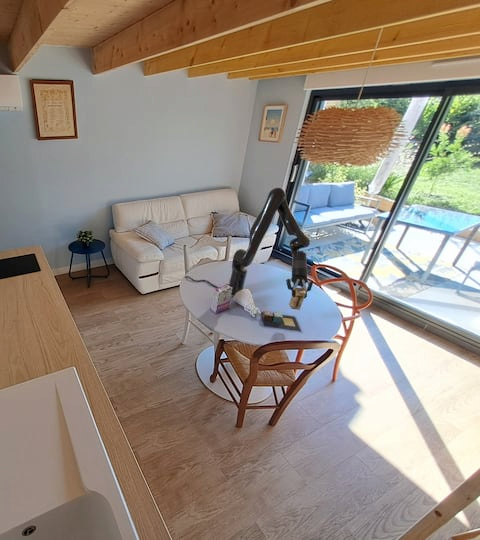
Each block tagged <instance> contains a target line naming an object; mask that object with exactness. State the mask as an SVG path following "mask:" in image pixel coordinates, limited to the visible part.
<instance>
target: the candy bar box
mask: <svg viewBox="0 0 480 540" xmlns="http://www.w3.org/2000/svg"><path fill="white" fill-rule="evenodd" d="M218 287H219V288H216V287H215V288H214V291H213V297H212V302H211V308H210V310H211V311H212V312H213V313H215V314H219V313H221V312H224V311H226V310H229V309H230V304H231V299H232V296H231V294H232V289H233V288H232V287H231V286H229V285H226V284H224V285H222V286H218Z"/></svg>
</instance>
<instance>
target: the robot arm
mask: <svg viewBox="0 0 480 540" xmlns="http://www.w3.org/2000/svg"><path fill="white" fill-rule="evenodd" d="M276 212H277V213H278V216H279V218H280V220H281V223H282V225H283V227H284V229H285V231H286V233H287V235H288V236H295V237H294V238H292V239H291V240H290V241H289V249H290V251H291V255H292V261H291V262H292V263H291V278H287V279H285V284H286V287H287V290H290V291H291V297H292V296H293V297H296V291H295V289H296V288H298V287H300V288H304V290H305V292H306V294H305V297H304V299H306V298H307V297H308V292H311V290H312V289H313V284H314V281H313V280H309V279H308V262H307V261H308V260H307V253H306V251H303V250H302V249H305V248H308V247H309V246H310V245H311V240H310V237H309V236H308V235H307V234H306V233H305V232H304V231H303V229H302V228H301V227H300V225H299V223H298V221H297V219H296V217H295V216H294V214H293V212H292V211H291V208H290V207H289V204H288V202H287V193H286V191H285V190H284V189H283V188H282V187H275V188H272V189H271V190H270V191H269V192H268V195H267V198H266V201H265V203H264V205H263V207H262V209H261V211H260V212H259V214H258V215H257V217H256V218H255V219H254V221H253V224H252V225H251V227H250V229H249V235H248V237H249V240H248V241H249V242H248V247H247V249H246V250H245V249H242V248H241V249H240V248H239V249H237V250H236V251H235V252H234V254H233V256H232V263H231V275H230V279H229V282H228V283H226V284H225V285H229V286H231V287H232V288H233V289H232V294H231V298H234V295H235V294H236V293H237V292H239V291H240V290H243V289H244V286H245V282H246V278H247V274H248V269H247V267H249V266H251V264H252V263H253V261H254V260H255V256H256V254H257V252H258V249H259V247H260V245H261V243H262V241H263V240H264V237H265V236H266V234H267V233H268V230H269V229H270V227H271V224H272V222H273V219H274V216H275V214H276ZM184 278H188V279H189V280H191V281H192V282H206V283H207V284H209V285H211V286H212V287H214V288H215V289H216V288H219V287H220V286H217V285H215V284H214V283H211V282H210V281H209V280H207V279H199V280H197V279H196V280H195V279H193V278H191V277H190V276H189V275H187V276H184ZM306 284H307V285H306Z"/></svg>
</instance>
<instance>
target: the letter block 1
mask: <svg viewBox="0 0 480 540" xmlns="http://www.w3.org/2000/svg"><path fill="white" fill-rule="evenodd" d="M272 314H273V311H271V310H270V311H269V310H263V314H262V316H261V319H262V318H263V320H262V322H263V321H269V322H271V320H272V317H273V315H272Z"/></svg>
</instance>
